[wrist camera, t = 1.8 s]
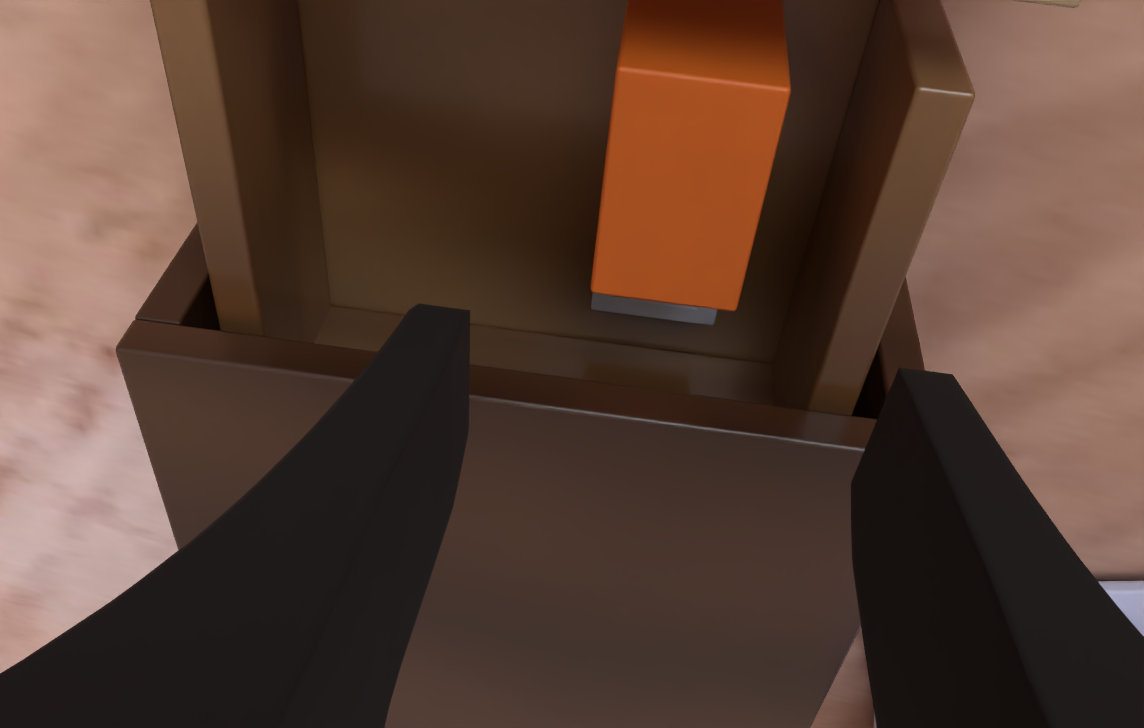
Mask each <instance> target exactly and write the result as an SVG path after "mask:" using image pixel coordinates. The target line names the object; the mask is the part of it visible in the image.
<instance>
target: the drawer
mask: <svg viewBox="0 0 1144 728" xmlns="http://www.w3.org/2000/svg"><path fill="white" fill-rule="evenodd" d="M627 1H628V0H150V2H151V7H152V12H153V16H154V21H155V26H156V30H157V35H158V40H159V44H160V49H161V54H162V58H163V63H164V68H165V72H166V77H167V82H168V86H169V91H170V96H171V100H172V105H173V110H174V114H175V119H176V124H177V128H178V133H179V138H180V142H181V147H182V152H183V156H184V161H185V166H186V170H187V175H188V180H189V184H190V189H191V194H192V198H193V203H194V208H195V212H196V217H197V222H198V226H199V231H200V236H201V240H202V245H203V250H204V254H205V259H206V264H207V268H208V273H209V278H210V282H211V287H212V292H213V296H214V301H215V306H216V310H217V315H218V320H219V324H220V329H221V331H226V332H234V333H241V334H248V335H256V336H263V337H271V338H278V339H286V340H293V341H300V342H308V343H315V344H323V345H330V346H337V347H345V348H352V349H360V350H367V351H375V352H378V351H379V350H380V348H381V347H382V346H383V344H384V343H385V342H386V341H387V339H388V338H389V337H390V335H391V334H392V333H393V331H394V330H395V329H396V327H397V326H398V325H399V323H400V322H401V320H402V319H403V318H404V316H405V315H406V313H407V312H408V310H409V309H411V308H412V307H414V306H415V305H417V304H418V303H419V304H427V305H434V306H442V307H449V308H457V309H464V310H470V364H471V365H478V366H486V367H493V368H501V369H508V370H515V371H523V372H530V373H538V374H545V375H553V376H560V377H567V378H575V379H582V380H590V381H597V382H605V383H612V384H619V385H627V386H634V387H642V388H649V389H656V390H664V391H671V392H679V393H686V394H694V395H701V396H708V397H716V398H723V399H731V400H738V401H745V402H753V403H760V404H768V405H775V406H783V407H790V408H797V409H805V410H812V411H820V412H827V413H834V414H842V415H849V416H851V415H852V413H853V410H854V407H855V405H856V402H857V400H858V397H859V395H860V392H861V389H862V387H863V384H864V382H865V379H866V377H867V374H868V371H869V369H870V366H871V364H872V361H873V359H874V356H875V353H876V351H877V348H878V346H879V343H880V341H881V338H882V335H883V333H884V330H885V328H886V325H887V323H888V320H889V317H890V315H891V312H892V310H893V307H894V304H895V302H896V299H897V297H898V294H899V292H900V289H901V286H902V284H903V281H904V279H905V276H906V274H907V271H908V268H909V266H910V263H911V261H912V258H913V256H914V253H915V250H916V248H917V245H918V243H919V240H920V238H921V235H922V232H923V230H924V227H925V225H926V222H927V220H928V217H929V214H930V212H931V209H932V207H933V204H934V202H935V199H936V196H937V194H938V191H939V189H940V186H941V184H942V181H943V178H944V176H945V173H946V171H947V168H948V166H949V163H950V160H951V158H952V155H953V153H954V150H955V147H956V145H957V142H958V140H959V137H960V135H961V132H962V129H963V127H964V124H965V122H966V119H967V117H968V114H969V111H970V109H971V106H972V104H973V101H974V99H975V92H974V89H973V87H972V84H971V81H970V78H969V76H968V73H967V70H966V67H965V65H964V62H963V59H962V57H961V54H960V51H959V48H958V46H957V43H956V40H955V37H954V35H953V32H952V29H951V26H950V24H949V21H948V18H947V16H946V13H945V10H944V7H943V5H942V2H941V0H782V1H783V11H784V22H785V33H786V43H787V54H788V64H789V75H790V86H791V94H790V98H789V102H788V106H787V110H786V114H785V118H784V122H783V126H782V130H781V134H780V138H779V142H778V146H777V150H776V154H775V158H774V162H773V166H772V170H771V174H770V178H769V182H768V186H767V190H766V194H765V198H764V202H763V206H762V210H761V214H760V218H759V222H758V226H757V230H756V234H755V238H754V242H753V246H752V250H751V254H750V258H749V262H748V266H747V270H746V274H745V278H744V282H743V286H742V290H741V294H740V298H739V302H738V306H737V308H736V310H735V311H726V310H718V311H717V315H716V319H715V323H714V325H712V326H711V325H703V324H696V323H688V322H681V321H673V320H665V319H658V318H650V317H643V316H635V315H628V314H620V313H613V312H605V311H598V310H592V309H591V302H592V294H593V292H592V291H591V288H590V286H591V277H592V269H593V260H594V252H595V243H596V235H597V226H598V217H599V209H600V200H601V192H602V183H603V175H604V166H605V157H606V149H607V140H608V132H609V123H610V115H611V106H612V97H613V89H614V80H615V72H616V65H617V59H618V54H619V48H620V42H621V36H622V30H623V24H624V19H625V13H626V7H627ZM1013 1H1021V2H1029V3H1038V4H1046V5H1054V6H1062V7H1070V8H1075V7H1078V5H1079V4H1080V2H1081V0H1013Z"/></svg>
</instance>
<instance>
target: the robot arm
mask: <svg viewBox="0 0 1144 728" xmlns="http://www.w3.org/2000/svg"><path fill="white" fill-rule="evenodd" d="M469 376H470V310H464V309H457V308H449V307H442V306H434V305H427V304H419V303H418V304H417V305H415V306H414V307H412V308H411V309H409V310H408V312H407V313H406V315H405V316H404V318H403V319H402V320H401V322H400V323H399V325H398V326H397V327H396V329H395V330H394V331H393V333H392V334H391V335H390V337H389V338H388V339H387V341H386V342H385V343H384V344H383V346H382V347H381V348H380V350H379V351H378V352H377V353H376V355H375V356H374V357H373V358H372V360H371V361H370V362H369V363H368V364H367V366H366V367H365V368H364V369H363V371H362V372H361V373H360V374H359V375H358V377H357V378H356V379H355V380H354V381H353V383H352V384H351V385H350V386H349V387H348V388H347V389H346V390H345V392H344V393H343V394H342V395H341V396H340V397H339V398H338V399H337V401H336V402H335V403H334V404H333V405H332V406H331V407H330V408H329V410H328V411H327V412H326V413H325V414H324V415H323V416H322V417H321V419H320V420H319V421H318V422H317V423H316V424H315V425H314V426H313V427H312V428H311V429H310V431H309V432H308V433H307V434H306V435H305V436H304V437H303V438H302V439H301V440H300V441H299V442H298V443H297V444H296V445H295V446H294V447H293V448H292V449H291V450H290V451H289V452H288V453H287V454H286V455H285V456H284V457H283V458H282V459H281V460H280V461H279V462H278V463H277V464H276V465H275V466H274V467H273V468H272V469H271V470H270V471H269V472H268V473H267V474H266V475H265V476H264V477H263V478H262V479H261V480H260V481H258V482H257V483H256V484H255V485H254V486H253V487H252V488H251V489H250V490H249V491H248V492H247V493H246V494H244V495H243V496H242V497H241V498H240V499H239V500H238V501H237V502H236V503H235V504H233V505H232V506H231V507H230V508H229V509H228V510H227V511H225V512H224V513H223V514H222V515H221V516H220V517H219V518H217V519H216V520H215V521H214V522H213V523H211V524H210V525H209V526H208V527H207V528H206V529H204V530H203V531H202V532H201V533H200V534H198V535H197V536H196V537H195V538H194V539H192V540H191V541H190V542H189V543H188V544H186V545H185V546H184V547H182V548H181V549H180V550H179V551H177V552H176V553H175V554H173V555H172V556H171V557H169V558H168V559H167V560H166V561H164V562H163V563H162V564H160V565H159V566H158V567H157V568H155V569H154V570H153V571H151V572H150V573H149V574H147V575H146V576H145V577H144V578H142V579H141V580H140V581H138V582H137V583H136V584H134V585H133V586H132V587H130V588H129V589H127V590H126V591H125V592H123V593H122V594H121V595H119V596H118V597H116V598H115V599H114V600H112V601H111V602H109V603H108V604H107V605H105V606H104V607H102V608H101V609H99V610H98V611H96V612H95V613H93V614H92V615H90V616H89V617H87V618H86V619H84V620H83V621H81V622H79V623H78V624H76V625H75V626H73V627H72V628H70V629H69V630H67V631H66V632H64V633H63V634H61V635H60V636H58V637H57V638H55V639H54V640H52V641H51V642H49V643H48V644H46V645H45V646H43V647H42V648H40V649H38V650H37V651H35V652H34V653H32V654H31V655H29V656H28V657H26V658H25V659H23V660H22V661H20V662H18V663H17V664H15V665H14V666H12V667H10V668H9V669H7V670H5V671H4V672H2V673H0V728H385V723H386V719H387V714H388V710H389V706H390V702H391V699H392V695H393V692H394V688H395V685H396V681H397V678H398V674H399V671H400V667H401V664H402V661H403V658H404V655H405V652H406V649H407V646H408V643H409V640H410V637H411V634H412V631H413V628H414V625H415V622H416V619H417V616H418V613H419V610H420V607H421V604H422V601H423V598H424V595H425V592H426V589H427V586H428V583H429V580H430V577H431V574H432V571H433V568H434V565H435V562H436V558H437V555H438V552H439V549H440V546H441V543H442V540H443V537H444V534H445V531H446V528H447V525H448V522H449V518H450V515H451V512H452V509H453V506H454V501H455V496H456V491H457V487H458V482H459V477H460V473H461V468H462V463H463V458H464V453H465V448H466V443H467V438H468V433H469ZM851 541H852V565H853V572H854V580H855V587H856V594H857V601H858V607H859V614H860V621H861V628H862V634H863V641H864V648H865V654H866V661H867V667H868V674H869V680H870V687H871V694H872V700H873V707H874V727H873V728H1144V581H1097V580H1096V579H1095V577H1094V576H1093V575H1092V574H1091V572H1090V571H1089V570H1088V569H1087V567H1086V566H1085V565H1084V564H1083V562H1082V561H1081V560H1080V559H1079V557H1078V556H1077V555H1076V553H1075V552H1074V551H1073V549H1072V548H1071V547H1070V545H1069V544H1068V543H1067V541H1066V540H1065V539H1064V537H1063V536H1062V534H1061V533H1060V532H1059V530H1058V529H1057V527H1056V526H1055V525H1054V523H1053V522H1052V521H1051V519H1050V518H1049V516H1048V515H1047V514H1046V512H1045V511H1044V509H1043V508H1042V507H1041V505H1040V504H1039V502H1038V501H1037V500H1036V498H1035V497H1034V495H1033V494H1032V493H1031V491H1030V490H1029V488H1028V487H1027V485H1026V484H1025V482H1024V481H1023V480H1022V478H1021V477H1020V475H1019V474H1018V472H1017V471H1016V469H1015V468H1014V466H1013V465H1012V463H1011V462H1010V460H1009V459H1008V457H1007V456H1006V454H1005V453H1004V451H1003V450H1002V448H1001V447H1000V445H999V444H998V442H997V441H996V439H995V438H994V436H993V435H992V433H991V432H990V430H989V429H988V427H987V426H986V424H985V423H984V421H983V420H982V418H981V416H980V415H979V413H978V412H977V410H976V409H975V407H974V406H973V404H972V403H971V401H970V400H969V398H968V397H967V395H966V394H965V392H964V391H963V389H962V388H961V386H960V385H959V383H958V382H957V380H956V379H955V377H954V376H953V375H952V374H945V373H937V372H930V371H922V370H915V369H907V368H900V367H899V368H898V371H897V373H896V376H895V378H894V381H893V383H892V385H891V388H890V390H889V393H888V395H887V397H886V400H885V402H884V405H883V407H882V409H881V412H880V414H879V417H878V419H877V421H876V424H875V426H874V429H873V431H872V433H871V436H870V438H869V441H868V443H867V445H866V448H865V450H864V453H863V455H862V457H861V460H860V462H859V465H858V467H857V470H856V472H855V474H854V477H853V479H852V482H851Z"/></svg>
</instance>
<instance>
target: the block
mask: <svg viewBox="0 0 1144 728" xmlns="http://www.w3.org/2000/svg"><path fill="white" fill-rule="evenodd" d="M790 94H791V86H790V75H789V64H788V54H787V43H786V33H785V22H784V11H783V1H782V0H628V1H627V7H626V13H625V19H624V24H623V30H622V36H621V42H620V48H619V54H618V59H617V65H616V72H615V80H614V89H613V97H612V106H611V115H610V123H609V132H608V140H607V149H606V157H605V166H604V175H603V183H602V192H601V200H600V209H599V217H598V226H597V235H596V243H595V252H594V260H593V269H592V277H591V286H590V288H591V291H592V292H593V294H592V302H591V309H592V310H598V311H605V312H613V313H620V314H628V315H635V316H643V317H650V318H658V319H665V320H673V321H681V322H688V323H696V324H703V325H711V326H712V325H714V323H715V319H716V315H717V311H718V310H726V311H735V310H736V308H737V306H738V302H739V298H740V294H741V290H742V286H743V282H744V278H745V274H746V270H747V266H748V262H749V258H750V254H751V250H752V246H753V242H754V238H755V234H756V230H757V226H758V222H759V218H760V214H761V210H762V206H763V202H764V198H765V194H766V190H767V186H768V182H769V178H770V174H771V170H772V166H773V162H774V158H775V154H776V150H777V146H778V142H779V138H780V134H781V130H782V126H783V122H784V118H785V114H786V110H787V106H788V102H789V98H790Z"/></svg>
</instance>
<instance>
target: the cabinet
mask: <svg viewBox="0 0 1144 728" xmlns="http://www.w3.org/2000/svg"><path fill="white" fill-rule="evenodd" d="M135 319H136V320H134V321H133V322H132V324H131V325H130V327H129V328H128V330H127V331H126V333H125V334H124V336H123V337H122V339H121V340H120V342H119V343H118V345H117V347H116V354H117V357H118V360H119V363H120V366H121V369H122V373H123V376H124V379H125V382H126V385H127V388H128V392H129V395H130V398H131V401H132V404H133V407H134V411H135V414H136V417H137V420H138V423H139V426H140V430H141V433H142V436H143V439H144V442H145V445H146V449H147V452H148V455H149V458H150V461H151V464H152V468H153V471H154V474H155V477H156V480H157V483H158V487H159V490H160V493H161V496H162V499H163V502H164V506H165V509H166V512H167V515H168V518H169V521H170V525H171V528H172V531H173V534H174V537H175V540H176V544H177V547H178V550H180V549H181V548H182V547H184V546H185V545H186V544H188V543H189V542H190V541H191V540H192V539H194V538H195V537H196V536H197V535H198V534H200V533H201V532H202V531H203V530H204V529H206V528H207V527H208V526H209V525H210V524H211V523H213V522H214V521H215V520H216V519H217V518H219V517H220V516H221V515H222V514H223V513H224V512H225V511H227V510H228V509H229V508H230V507H231V506H232V505H233V504H235V503H236V502H237V501H238V500H239V499H240V498H241V497H242V496H243V495H244V494H246V493H247V492H248V491H249V490H250V489H251V488H252V487H253V486H254V485H255V484H256V483H257V482H258V481H260V480H261V479H262V478H263V477H264V476H265V475H266V474H267V473H268V472H269V471H270V470H271V469H272V468H273V467H274V466H275V465H276V464H277V463H278V462H279V461H280V460H281V459H282V458H283V457H284V456H285V455H286V454H287V453H288V452H289V451H290V450H291V449H292V448H293V447H294V446H295V445H296V444H297V443H298V442H299V441H300V440H301V439H302V438H303V437H304V436H305V435H306V434H307V433H308V432H309V431H310V429H311V428H312V427H313V426H314V425H315V424H316V423H317V422H318V421H319V420H320V419H321V417H322V416H323V415H324V414H325V413H326V412H327V411H328V410H329V408H330V407H331V406H332V405H333V404H334V403H335V402H336V401H337V399H338V398H339V397H340V396H341V395H342V394H343V393H344V392H345V390H346V389H347V388H348V387H349V386H350V385H351V384H352V383H353V381H354V380H355V379H356V378H357V377H358V375H359V374H360V373H361V372H362V371H363V369H364V368H365V367H366V366H367V364H368V363H369V362H370V361H371V360H372V358H373V357H374V356H375V355H376V353H377V352H375V351H367V350H360V349H352V348H345V347H337V346H330V345H323V344H315V343H308V342H300V341H293V340H286V339H278V338H271V337H263V336H256V335H248V334H241V333H234V332H226V331H221V329H220V324H219V320H218V315H217V310H216V306H215V301H214V296H213V292H212V287H211V282H210V278H209V273H208V268H207V264H206V259H205V254H204V250H203V245H202V240H201V236H200V231H199V226H198V222H197V224H196V225H195V227H194V228H193V230H192V231H191V233H190V234H189V236H188V237H187V239H186V240H185V242H184V243H183V245H182V246H181V248H180V249H179V251H178V252H177V254H176V256H175V257H174V259H173V260H172V262H171V263H170V265H169V266H168V268H167V269H166V271H165V272H164V274H163V275H162V277H161V278H160V280H159V281H158V283H157V284H156V286H155V287H154V289H153V290H152V292H151V293H150V295H149V297H148V298H147V300H146V301H145V303H144V304H143V306H142V307H141V309H140V310H139V312H138V313H137V315H136V318H135ZM899 367H900V368H907V369H915V370H922V371H925V368H924V363H923V358H922V354H921V349H920V344H919V339H918V334H917V330H916V325H915V320H914V315H913V310H912V305H911V301H910V296H909V291H908V286H907V281H906V276H905V279H904V281H903V284H902V286H901V289H900V292H899V294H898V297H897V299H896V302H895V304H894V307H893V310H892V312H891V315H890V317H889V320H888V323H887V325H886V328H885V330H884V333H883V335H882V338H881V341H880V343H879V346H878V348H877V351H876V353H875V356H874V359H873V361H872V364H871V366H870V369H869V371H868V374H867V377H866V379H865V382H864V384H863V387H862V389H861V392H860V395H859V397H858V400H857V402H856V405H855V407H854V410H853V413H852V415H851V416H849V415H842V414H834V413H827V412H820V411H812V410H805V409H797V408H790V407H783V406H775V405H768V404H760V403H753V402H745V401H738V400H731V399H723V398H716V397H708V396H701V395H694V394H686V393H679V392H671V391H664V390H656V389H649V388H642V387H634V386H627V385H619V384H612V383H605V382H597V381H590V380H582V379H575V378H567V377H560V376H553V375H545V374H538V373H530V372H523V371H515V370H508V369H501V368H493V367H486V366H478V365H471V364H470V376H469V433H468V438H467V443H466V448H465V453H464V458H463V463H462V468H461V473H460V477H459V482H458V487H457V491H456V496H455V501H454V506H453V509H452V512H451V515H450V518H449V522H448V525H447V528H446V531H445V534H444V537H443V540H442V543H441V546H440V549H439V552H438V555H437V558H436V562H435V565H434V568H433V571H432V574H431V577H430V580H429V583H428V586H427V589H426V592H425V595H424V598H423V601H422V604H421V607H420V610H419V613H418V616H417V619H416V622H415V625H414V628H413V631H412V634H411V637H410V640H409V643H408V646H407V649H406V652H405V655H404V658H403V661H402V664H401V667H400V671H399V674H398V678H397V681H396V685H395V688H394V692H393V695H392V699H391V702H390V706H389V710H388V714H387V719H386V723H385V728H810V727H811V725H812V723H813V721H814V719H815V717H816V715H817V713H818V711H819V709H820V707H821V705H822V703H823V701H824V699H825V697H826V695H827V693H828V691H829V689H830V687H831V685H832V683H833V681H834V679H835V677H836V675H837V673H838V671H839V669H840V667H841V665H842V663H843V661H844V659H845V657H846V655H847V653H848V651H849V649H850V647H851V645H852V643H853V641H854V639H855V637H856V635H857V633H858V631H859V629H860V627H861V621H860V614H859V607H858V601H857V594H856V587H855V580H854V572H853V565H852V541H851V482H852V479H853V477H854V474H855V472H856V470H857V467H858V465H859V462H860V460H861V457H862V455H863V453H864V450H865V448H866V445H867V443H868V441H869V438H870V436H871V433H872V431H873V429H874V426H875V424H876V421H877V419H878V417H879V414H880V412H881V409H882V407H883V405H884V402H885V400H886V397H887V395H888V393H889V390H890V388H891V385H892V383H893V381H894V378H895V376H896V373H897V371H898V368H899Z"/></svg>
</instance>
